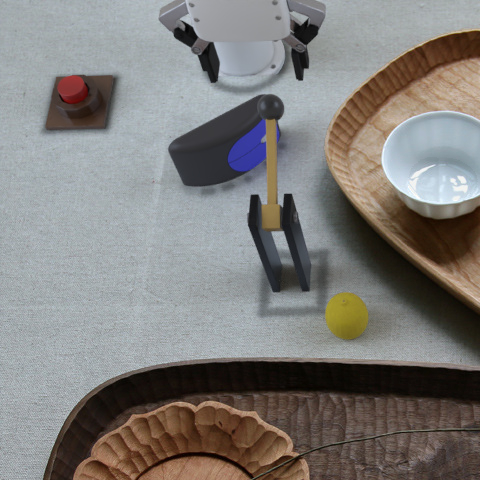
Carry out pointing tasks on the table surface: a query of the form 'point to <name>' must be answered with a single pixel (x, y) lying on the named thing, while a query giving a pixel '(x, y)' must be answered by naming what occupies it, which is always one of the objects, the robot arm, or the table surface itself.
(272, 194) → the switch lever
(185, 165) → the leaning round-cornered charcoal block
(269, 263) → the bracket
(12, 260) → the table surface
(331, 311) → the lemon
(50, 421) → the table surface
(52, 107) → the button base
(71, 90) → the button
